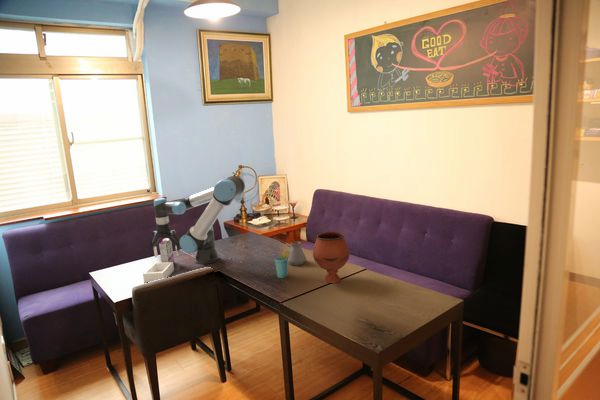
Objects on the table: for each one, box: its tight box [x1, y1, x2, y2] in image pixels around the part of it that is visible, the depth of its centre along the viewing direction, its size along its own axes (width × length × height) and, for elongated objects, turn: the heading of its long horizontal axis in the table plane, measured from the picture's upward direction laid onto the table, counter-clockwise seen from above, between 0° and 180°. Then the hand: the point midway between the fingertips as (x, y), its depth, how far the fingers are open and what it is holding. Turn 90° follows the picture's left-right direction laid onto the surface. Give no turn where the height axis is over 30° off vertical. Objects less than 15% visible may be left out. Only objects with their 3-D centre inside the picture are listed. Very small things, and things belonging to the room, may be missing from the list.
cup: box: [270, 249, 290, 279], centre depth 225 cm, size 14×8×15 cm, turn 140°
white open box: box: [142, 262, 175, 284], centre depth 238 cm, size 11×17×6 cm, turn 179°
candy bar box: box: [158, 237, 175, 264], centre depth 254 cm, size 11×5×16 cm, turn 3°
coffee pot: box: [272, 236, 307, 266], centre depth 247 cm, size 21×12×15 cm, turn 60°
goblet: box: [312, 231, 350, 284], centre depth 215 cm, size 19×19×25 cm
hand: (167, 256), depth 255 cm, fingers open, 13 cm apart
